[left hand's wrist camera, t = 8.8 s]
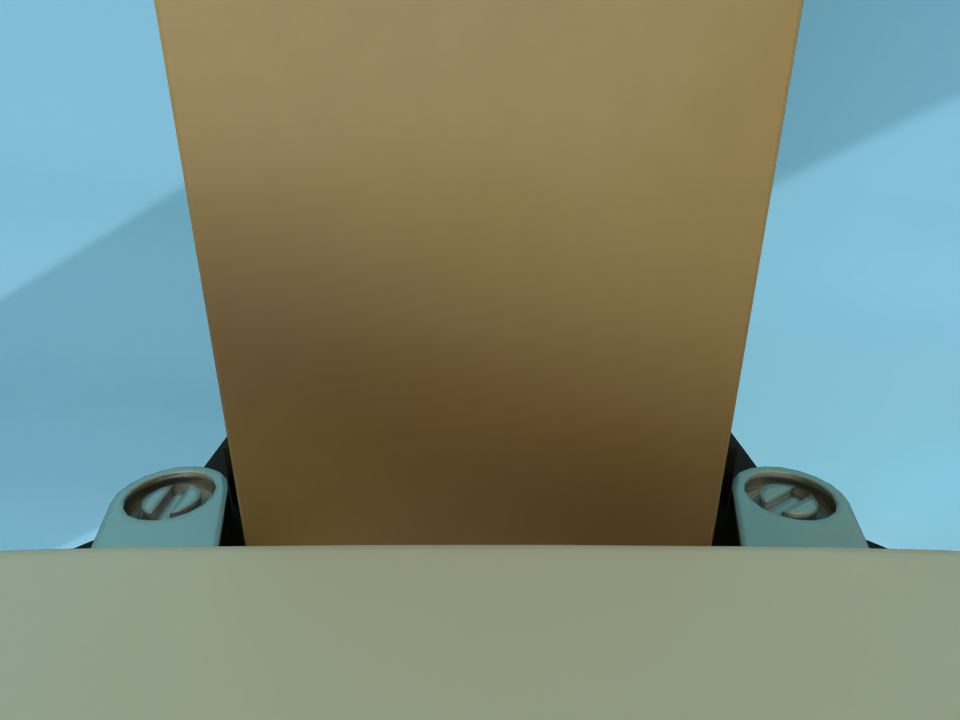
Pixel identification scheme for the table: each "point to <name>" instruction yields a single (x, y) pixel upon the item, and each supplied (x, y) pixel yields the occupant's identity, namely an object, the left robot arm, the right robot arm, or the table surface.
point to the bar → (478, 257)
